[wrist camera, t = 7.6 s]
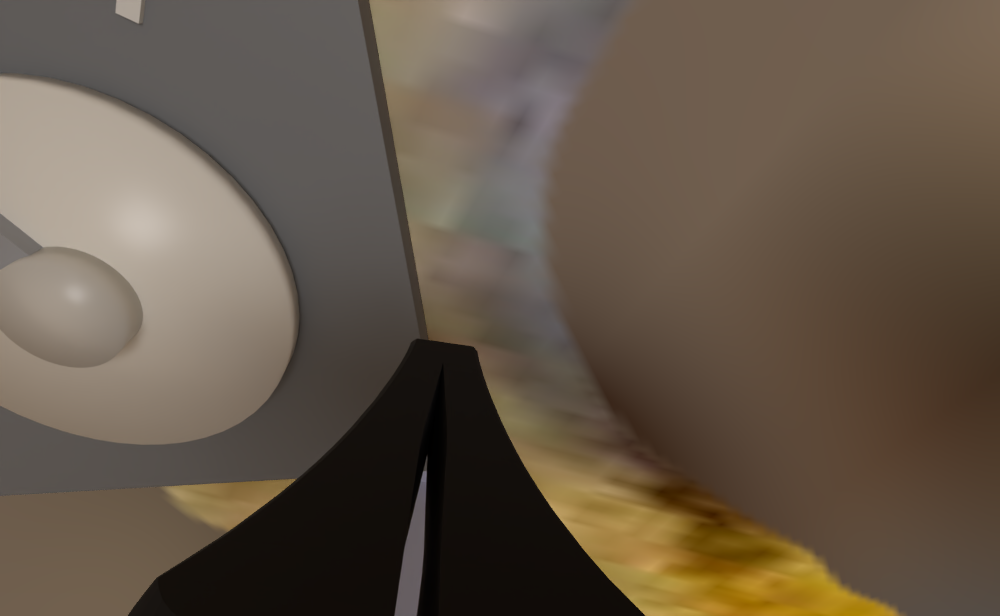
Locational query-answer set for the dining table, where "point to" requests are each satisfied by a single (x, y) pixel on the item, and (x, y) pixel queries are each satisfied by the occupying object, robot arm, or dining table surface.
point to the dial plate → (277, 193)
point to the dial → (130, 274)
